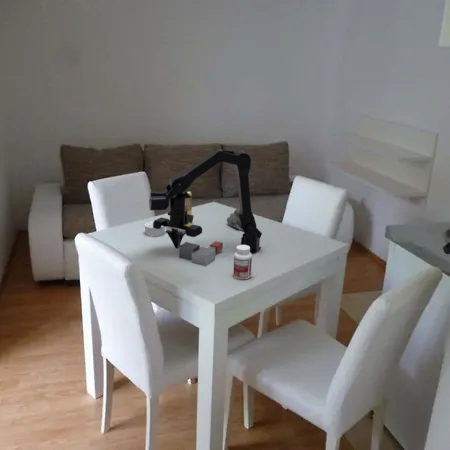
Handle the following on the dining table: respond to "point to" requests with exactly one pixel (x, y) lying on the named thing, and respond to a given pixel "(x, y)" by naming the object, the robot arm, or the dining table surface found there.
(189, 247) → the socket
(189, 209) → the candy box
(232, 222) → the mineral rock
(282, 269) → the dining table surface
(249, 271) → the pill bottle
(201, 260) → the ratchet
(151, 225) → the ramekin
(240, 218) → the robot arm
